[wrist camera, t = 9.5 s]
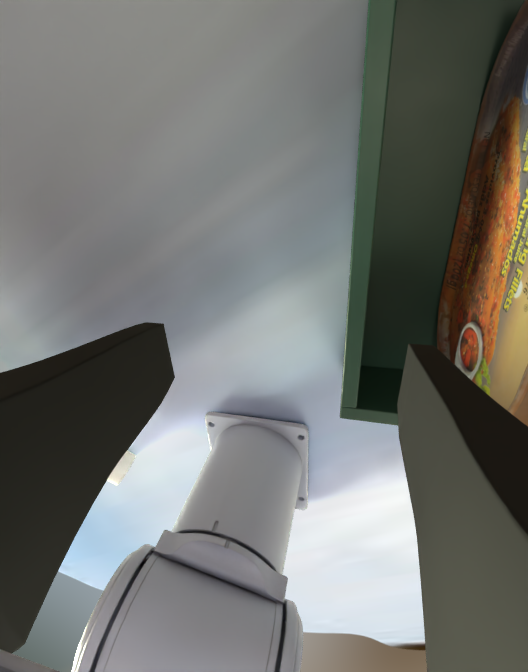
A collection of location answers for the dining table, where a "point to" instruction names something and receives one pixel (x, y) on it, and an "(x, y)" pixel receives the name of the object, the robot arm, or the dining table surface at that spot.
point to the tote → (411, 180)
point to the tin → (493, 239)
